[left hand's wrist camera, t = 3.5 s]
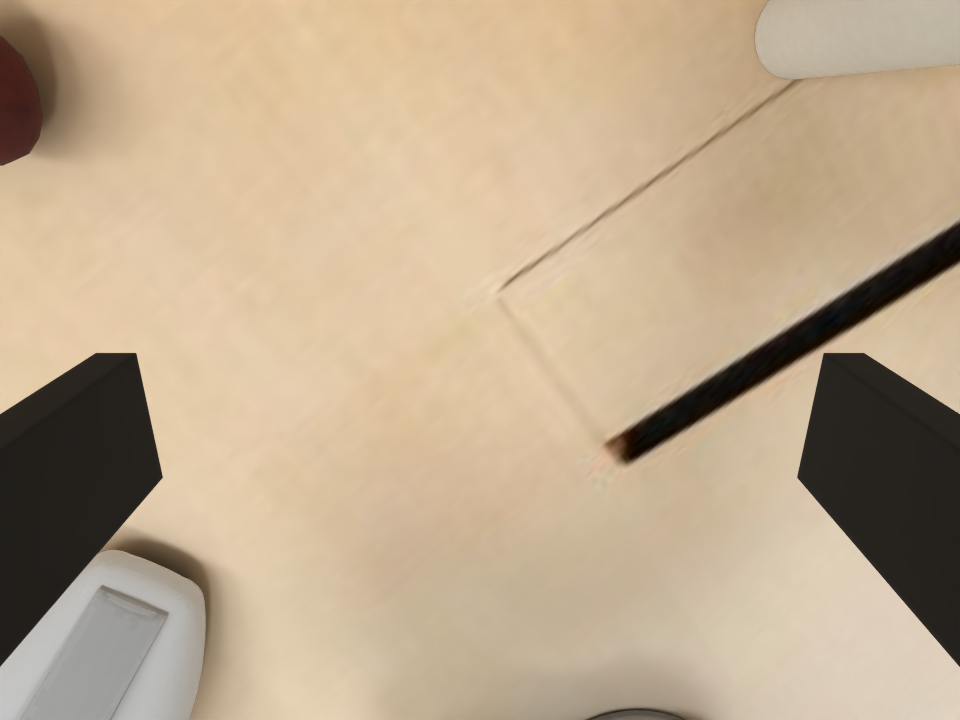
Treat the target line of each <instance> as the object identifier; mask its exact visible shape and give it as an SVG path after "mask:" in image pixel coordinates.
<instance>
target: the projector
mask: <svg viewBox="0 0 960 720" xmlns="http://www.w3.org/2000/svg"><path fill="white" fill-rule="evenodd" d="M205 632H206V613H205V601H204V597H203V593H202V591H201V589H200V588H199V587H198V586H197V585H196V584H195V583H194V582H193V581H191V580H189V579H187V578H185V577H183V576H181V575H179V574H177V573H175V572H173V571H171V570H169V569H167V568H165V567H163V566H160V565H158V564H156V563H153V562H151V561H148V560H146V559H143V558H141V557H138V556H134V555H132V554H129V553H127V552H124V551H120V550H106V551H103V552H100V553H98V554H97V555H96V556H95V557H94V558H93V559H92V561H91V562H90V563H89V564H88V565H87V566H86V568H85V569H84V570H83V571H82V572H81V573H80V575H79V576H78V577H77V578H76V579H75V580H74V582H73V583H72V584H71V585H70V586H69V587H68V589H67V590H66V591H65V592H64V593H63V594H62V596H61V597H60V598H59V599H58V600H57V601H56V603H55V604H54V605H53V606H52V607H51V608H50V609H49V611H48V612H47V613H46V614H45V615H44V616H43V618H42V619H41V620H40V621H39V622H38V623H37V625H36V626H35V627H34V628H33V629H32V630H31V632H30V633H29V634H28V635H27V636H26V637H25V639H24V640H23V641H22V642H21V643H20V644H19V646H18V647H17V648H16V649H15V650H14V651H13V653H12V654H11V655H10V656H9V657H8V658H7V660H6V661H5V662H4V663H3V664H2V665H1V667H0V720H189V719H190V716H191V713H192V710H193V706H194V703H195V699H196V695H197V692H198V687H199V682H200V677H201V671H202V665H203V657H204V647H205Z"/></svg>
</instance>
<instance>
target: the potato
mask: <svg viewBox="0 0 960 720" xmlns="http://www.w3.org/2000/svg"><path fill="white" fill-rule="evenodd" d="M41 123H42V111H41V105H40V100H39V95H38V89H37V85H36V83H35V81H34V79H33V77H32V75H31V73H30V71H29V69H28V67H27V65H26V63H25V61H24V59H23V57H22V56H21V55H20V54H19V53H18V52H17V51H16V50H15V49H14V48H13V47H12V46H11V45H10V44H9V43H8V42H7V41H6V40H5V39H4V38H2V37H1V36H0V165H5V164H7V163H10V162H12V161H14V160H16V159H19V158H21V157H23V156H25V155H27V154H29V153H30V151H31V150H32V148H33V147H34V145H35V144H36V142H37V140H38V139H39V136H40V130H41Z"/></svg>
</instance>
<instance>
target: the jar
mask: <svg viewBox="0 0 960 720" xmlns="http://www.w3.org/2000/svg"><path fill="white" fill-rule="evenodd" d="M755 47H756V52H757V55H758V57H759V60H760V62H761V63H762V65H763V66H764V67H765V68H766V69H767V70H768V71H769V72H770V73H771V74H773V75H775V76H777V77H779V78H783V79H790V80H794V79H805V78H816V77H827V76H838V75H849V74H860V73H871V72H882V71H893V70H904V69H915V68H926V67H937V66H948V65H959V64H960V0H769V2H768V3H767V4H766V6H765V7H764V9H763V11H762V13H761V15H760V17H759V19H758V23H757V26H756V31H755Z"/></svg>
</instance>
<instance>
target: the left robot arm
mask: <svg viewBox="0 0 960 720" xmlns="http://www.w3.org/2000/svg"><path fill="white" fill-rule="evenodd" d="M162 478H163V476H162V472H161V467H160V462H159V458H158V453H157V448H156V444H155V439H154V434H153V430H152V425H151V420H150V415H149V411H148V406H147V401H146V397H145V392H144V387H143V383H142V378H141V373H140V369H139V364H138V359H137V355H136V353H95V354H94V355H92V356H91V357H89V358H88V359H86V360H84V361H83V362H81V363H80V364H78V365H77V366H75V367H74V368H72V369H70V370H69V371H67V372H66V373H64V374H63V375H61V376H59V377H58V378H56V379H55V380H53V381H52V382H50V383H48V384H47V385H45V386H44V387H42V388H41V389H39V390H37V391H36V392H34V393H33V394H31V395H30V396H28V397H27V398H25V399H23V400H22V401H20V402H19V403H17V404H16V405H14V406H12V407H11V408H9V409H8V410H6V411H5V412H3V413H1V414H0V667H1V665H2V664H3V663H4V662H5V661H6V660H7V658H8V657H9V656H10V655H11V654H12V653H13V651H14V650H15V649H16V648H17V647H18V646H19V644H20V643H21V642H22V641H23V640H24V639H25V637H26V636H27V635H28V634H29V633H30V632H31V630H32V629H33V628H34V627H35V626H36V625H37V623H38V622H39V621H40V620H41V619H42V618H43V616H44V615H45V614H46V613H47V612H48V611H49V609H50V608H51V607H52V606H53V605H54V604H55V603H56V601H57V600H58V599H59V598H60V597H61V596H62V594H63V593H64V592H65V591H66V590H67V589H68V587H69V586H70V585H71V584H72V583H73V582H74V580H75V579H76V578H77V577H78V576H79V575H80V573H81V572H82V571H83V570H84V569H85V568H86V566H87V565H88V564H89V563H90V562H91V561H92V559H93V558H94V557H95V556H96V555H97V554H98V552H99V551H100V550H101V549H102V548H103V547H104V545H105V544H106V543H107V542H108V541H109V540H110V538H111V537H112V536H113V535H114V534H115V533H116V531H117V530H118V529H119V528H120V527H121V526H122V524H123V523H124V522H125V521H126V520H127V519H128V517H129V516H130V515H131V514H132V513H133V512H134V510H135V509H136V508H137V507H138V506H139V505H140V503H141V502H142V501H143V500H144V499H145V498H146V496H147V495H148V494H149V493H150V492H151V491H152V489H153V488H154V487H155V486H156V485H157V484H158V482H159V481H160V480H161V479H162ZM797 478H798V479H799V480H800V481H801V483H802V484H803V485H804V486H805V487H806V488H807V489H808V491H809V492H810V493H811V494H812V495H813V496H814V498H815V499H816V500H817V501H818V502H819V503H820V505H821V506H822V507H823V508H824V509H825V510H826V512H827V513H828V514H829V515H830V516H831V517H832V519H833V520H834V521H835V522H836V523H837V524H838V526H839V527H840V528H841V529H842V530H843V531H844V533H845V534H846V535H847V536H848V537H849V538H850V540H851V541H852V542H853V543H854V544H855V545H856V547H857V548H858V549H859V550H860V551H861V552H862V554H863V555H864V556H865V557H866V558H867V559H868V561H869V562H870V563H871V564H872V565H873V566H874V568H875V569H876V570H877V571H878V572H879V573H880V575H881V576H882V577H883V578H884V579H885V580H886V582H887V583H888V584H889V585H890V586H891V587H892V589H893V590H894V591H895V592H896V593H897V594H898V596H899V597H900V598H901V599H902V600H903V601H904V603H905V604H906V605H907V606H908V607H909V608H910V609H911V611H912V612H913V613H914V614H915V615H916V616H917V618H918V619H919V620H920V621H921V622H922V623H923V625H924V626H925V627H926V628H927V629H928V630H929V632H930V633H931V634H932V635H933V636H934V637H935V639H936V640H937V641H938V642H939V643H940V644H941V646H942V647H943V648H944V649H945V650H946V651H947V653H948V654H949V655H950V656H951V657H952V658H953V660H954V661H955V662H956V663H957V664H958V665H959V667H960V414H959V413H957V412H955V411H954V410H952V409H951V408H949V407H948V406H946V405H944V404H943V403H941V402H940V401H938V400H937V399H935V398H933V397H932V396H930V395H929V394H927V393H926V392H924V391H922V390H921V389H919V388H918V387H916V386H915V385H913V384H912V383H910V382H908V381H907V380H905V379H904V378H902V377H901V376H899V375H897V374H896V373H894V372H893V371H891V370H890V369H888V368H886V367H885V366H883V365H882V364H880V363H879V362H877V361H876V360H874V359H872V358H871V357H869V356H868V355H866V354H865V353H824V355H823V359H822V364H821V369H820V373H819V378H818V383H817V387H816V392H815V397H814V401H813V406H812V411H811V415H810V420H809V425H808V430H807V434H806V439H805V444H804V448H803V453H802V458H801V462H800V467H799V472H798V476H797ZM591 720H683V719H681V718H678V717H675V716H673V715H669V714H666V713H661V712H655V711H645V710H632V711H621V712H615V713H610V714H606V715H602V716H599V717H596V718H594V719H591Z"/></svg>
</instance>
